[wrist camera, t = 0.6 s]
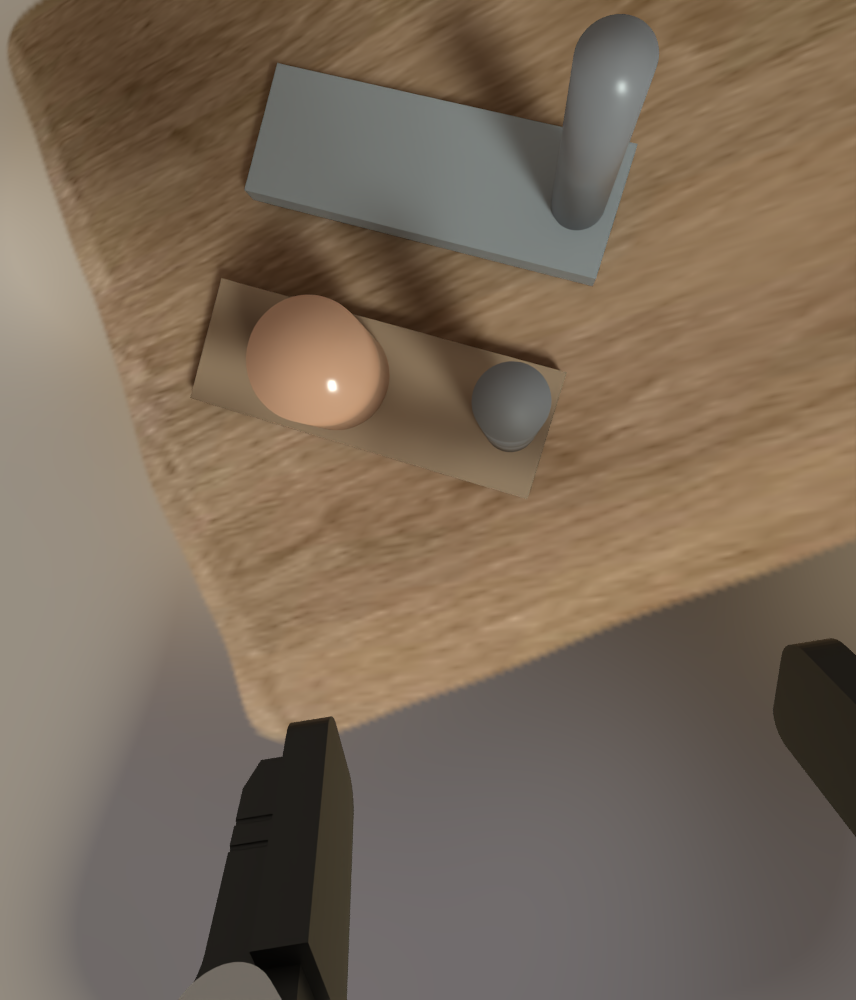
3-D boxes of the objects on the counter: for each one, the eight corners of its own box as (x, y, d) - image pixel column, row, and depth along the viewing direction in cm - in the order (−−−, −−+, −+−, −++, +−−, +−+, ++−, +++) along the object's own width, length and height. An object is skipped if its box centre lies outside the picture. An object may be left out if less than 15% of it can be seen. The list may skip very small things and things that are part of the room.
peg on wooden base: (231, 284, 35) (85, 185, 23) (564, 376, 33) (596, 318, 21) (200, 400, 36) (42, 362, 24) (526, 498, 33) (536, 512, 21)
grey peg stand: (285, 77, 34) (163, -141, 22) (632, 156, 32) (708, -39, 20) (253, 199, 35) (116, 52, 23) (592, 285, 32) (642, 173, 20)
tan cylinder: (300, 309, 33) (264, 280, 28) (402, 337, 33) (383, 312, 28) (272, 413, 34) (231, 403, 29) (372, 443, 33) (348, 437, 28)
